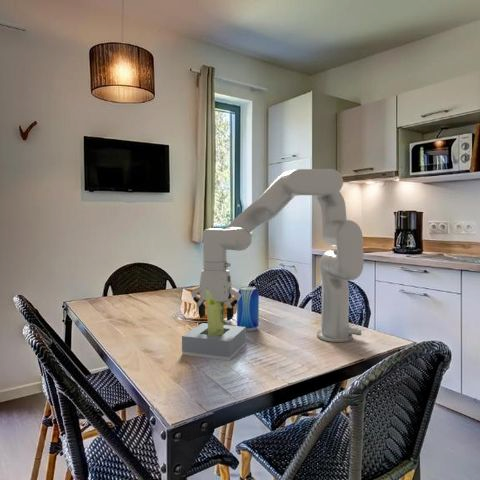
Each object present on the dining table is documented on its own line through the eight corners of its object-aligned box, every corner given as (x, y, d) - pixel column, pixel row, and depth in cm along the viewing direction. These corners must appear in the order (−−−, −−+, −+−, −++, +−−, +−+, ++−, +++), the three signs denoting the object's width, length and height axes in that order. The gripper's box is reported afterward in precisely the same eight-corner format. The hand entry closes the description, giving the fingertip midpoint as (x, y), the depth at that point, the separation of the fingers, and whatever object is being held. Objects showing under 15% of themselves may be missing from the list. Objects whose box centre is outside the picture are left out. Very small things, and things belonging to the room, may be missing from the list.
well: (245, 344, 134) (245, 327, 134) (229, 360, 119) (229, 341, 119) (202, 339, 140) (202, 322, 139) (182, 354, 124) (181, 336, 124)
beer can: (256, 332, 148) (256, 290, 147) (234, 331, 150) (234, 289, 149) (260, 326, 156) (260, 286, 155) (239, 325, 158) (239, 285, 157)
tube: (219, 350, 126) (219, 289, 124) (205, 348, 127) (204, 288, 126) (225, 344, 131) (225, 286, 130) (211, 342, 133) (211, 285, 131)
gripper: (243, 265, 128) (244, 317, 130) (195, 264, 134) (196, 313, 135) (236, 268, 121) (236, 323, 122) (185, 267, 127) (186, 319, 128)
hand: (215, 318), depth 129 cm, fingers open, 9 cm apart
